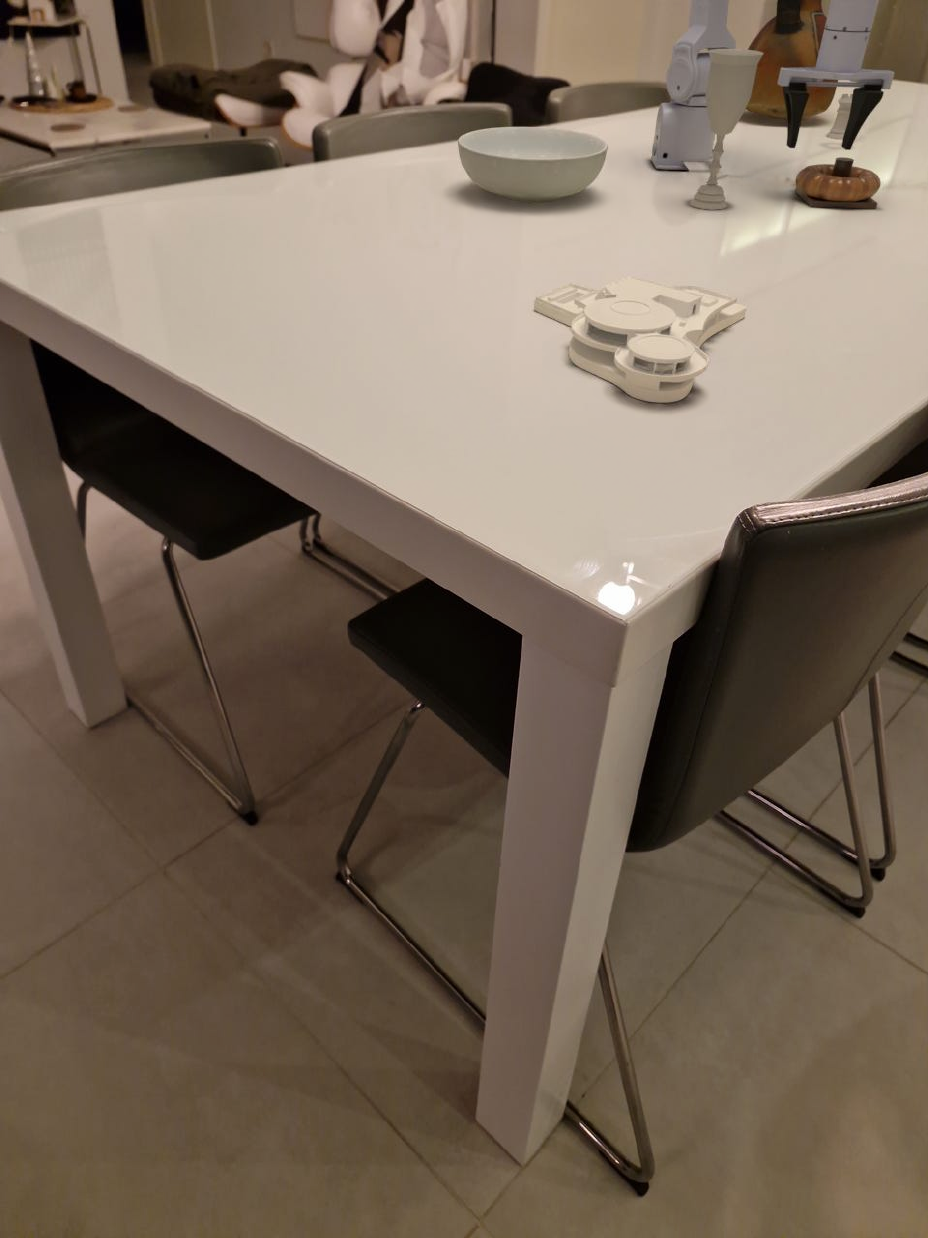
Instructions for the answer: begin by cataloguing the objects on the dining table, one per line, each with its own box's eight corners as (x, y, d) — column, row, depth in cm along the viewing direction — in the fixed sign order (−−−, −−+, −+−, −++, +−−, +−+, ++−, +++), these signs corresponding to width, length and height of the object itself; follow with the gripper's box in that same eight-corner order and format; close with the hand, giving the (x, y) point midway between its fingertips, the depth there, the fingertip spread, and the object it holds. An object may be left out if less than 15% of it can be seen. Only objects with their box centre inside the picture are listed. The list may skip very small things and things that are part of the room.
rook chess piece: (845, 144, 156) (859, 93, 151) (852, 149, 153) (866, 97, 148) (820, 143, 157) (833, 92, 152) (826, 148, 153) (839, 96, 148)
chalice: (734, 213, 117) (765, 56, 106) (683, 209, 118) (709, 53, 107) (732, 199, 123) (761, 49, 111) (683, 196, 124) (708, 47, 112)
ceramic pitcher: (838, 117, 179) (885, -67, 160) (813, 132, 165) (861, -67, 146) (746, 107, 186) (780, -70, 168) (715, 120, 173) (748, -70, 154)
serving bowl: (431, 200, 120) (430, 144, 116) (496, 171, 134) (498, 121, 130) (569, 221, 113) (574, 163, 108) (623, 188, 127) (629, 136, 123)
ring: (805, 202, 119) (811, 178, 117) (785, 183, 128) (790, 161, 126) (886, 204, 119) (894, 181, 117) (861, 185, 128) (867, 163, 126)
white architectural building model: (805, 332, 83) (818, 285, 80) (669, 416, 68) (678, 361, 65) (609, 279, 94) (615, 236, 92) (457, 340, 80) (457, 291, 77)
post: (811, 206, 121) (821, 165, 117) (794, 191, 128) (804, 151, 124) (875, 208, 120) (888, 166, 117) (855, 193, 127) (866, 153, 124)
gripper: (799, 31, 108) (772, 151, 117) (915, 34, 108) (880, 154, 117) (785, 26, 114) (761, 141, 122) (895, 28, 114) (863, 144, 122)
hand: (818, 147), depth 120 cm, fingers open, 7 cm apart
